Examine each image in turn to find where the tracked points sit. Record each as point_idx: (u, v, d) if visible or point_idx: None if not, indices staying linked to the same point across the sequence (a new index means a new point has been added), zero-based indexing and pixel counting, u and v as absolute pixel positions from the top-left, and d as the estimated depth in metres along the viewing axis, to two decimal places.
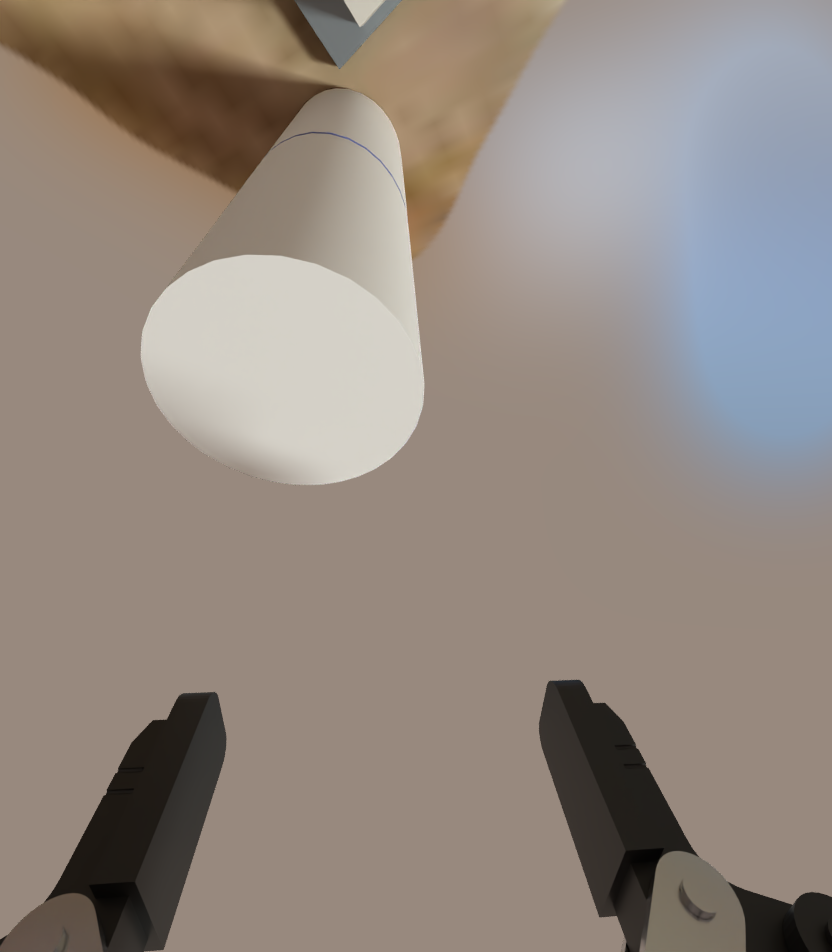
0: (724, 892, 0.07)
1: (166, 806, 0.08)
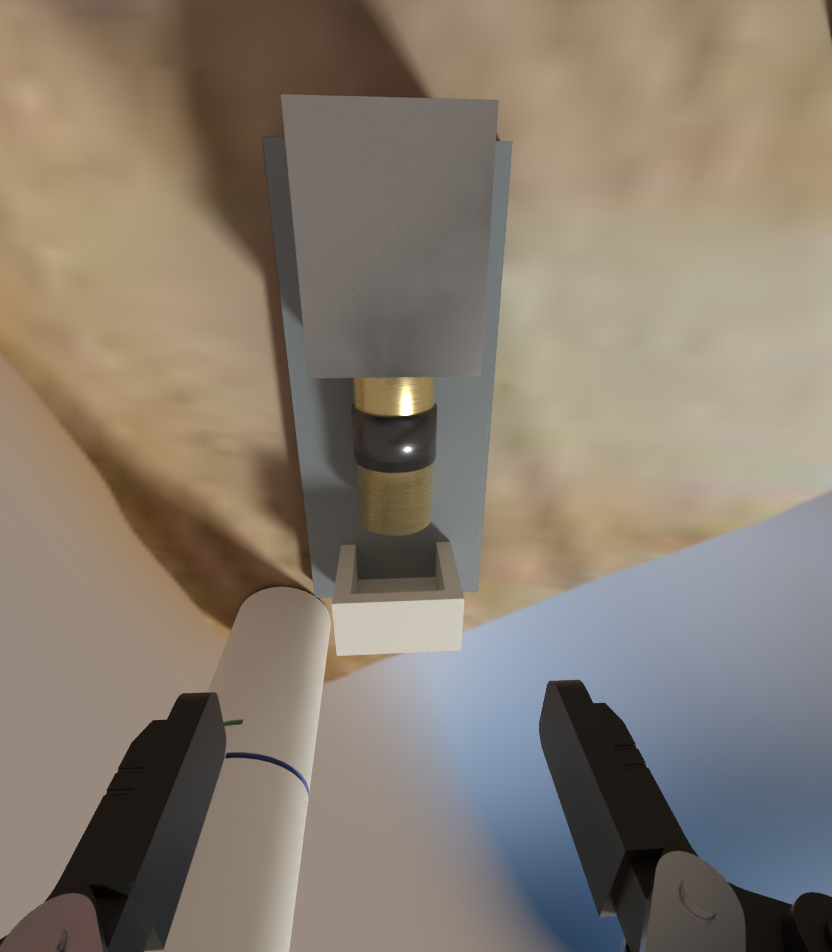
0: (724, 892, 0.07)
1: (166, 806, 0.08)
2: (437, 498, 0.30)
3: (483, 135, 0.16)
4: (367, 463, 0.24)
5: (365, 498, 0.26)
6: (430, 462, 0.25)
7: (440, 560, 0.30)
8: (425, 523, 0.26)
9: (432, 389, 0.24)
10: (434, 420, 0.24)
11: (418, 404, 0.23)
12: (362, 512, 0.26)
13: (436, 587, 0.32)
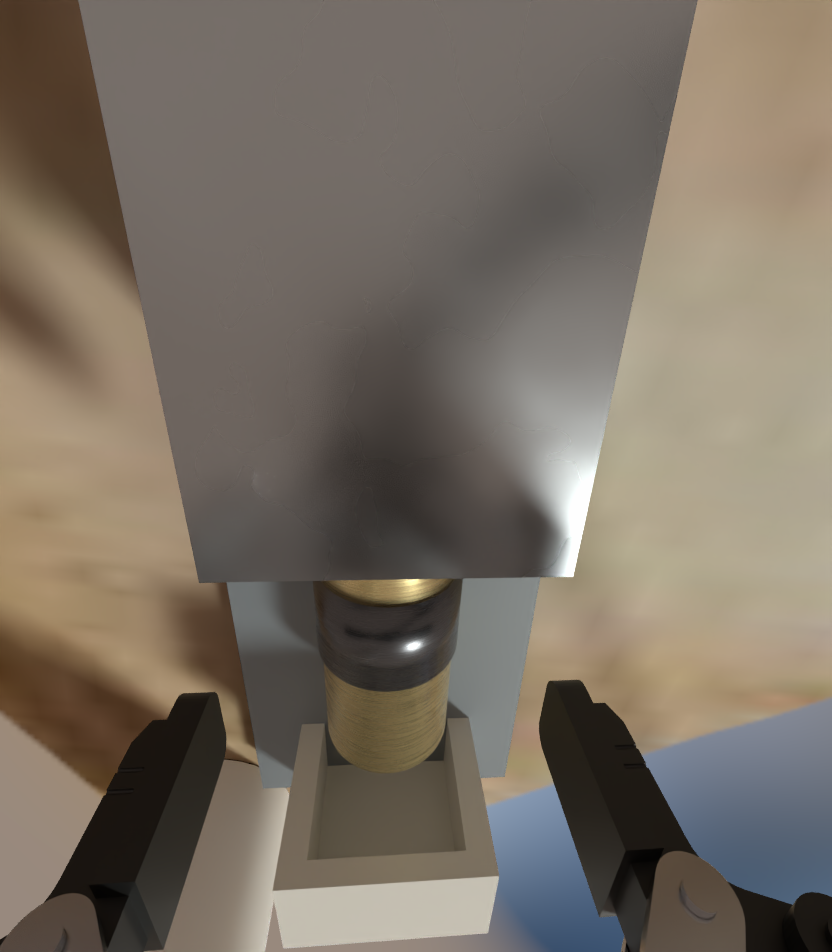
0: (724, 892, 0.07)
1: (166, 806, 0.08)
2: (452, 663, 0.19)
3: (657, 20, 0.06)
4: (337, 669, 0.13)
5: (335, 711, 0.15)
6: (449, 659, 0.14)
7: (455, 765, 0.19)
8: (436, 742, 0.16)
9: None
10: (459, 593, 0.14)
11: (433, 580, 0.12)
12: (330, 722, 0.16)
13: (446, 787, 0.21)
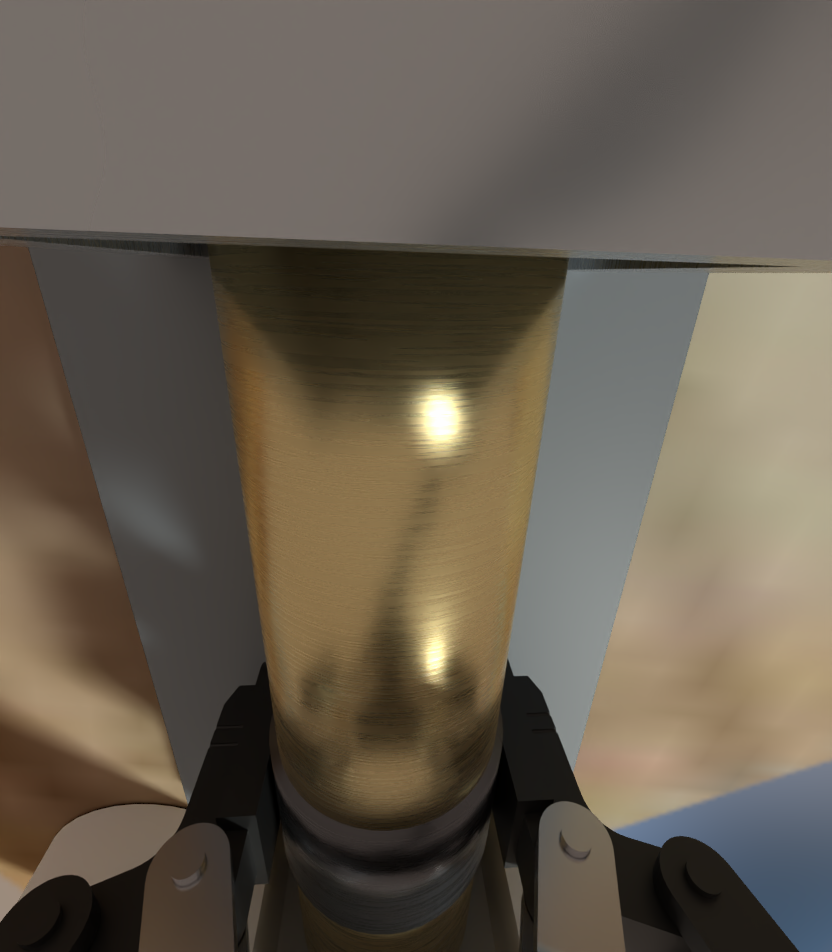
0: (600, 836, 0.08)
1: None
2: None
3: None
4: (309, 892, 0.09)
5: (309, 925, 0.10)
6: (480, 859, 0.09)
7: None
8: None
9: (499, 708, 0.08)
10: (497, 770, 0.09)
11: (462, 780, 0.08)
12: (304, 926, 0.11)
13: None
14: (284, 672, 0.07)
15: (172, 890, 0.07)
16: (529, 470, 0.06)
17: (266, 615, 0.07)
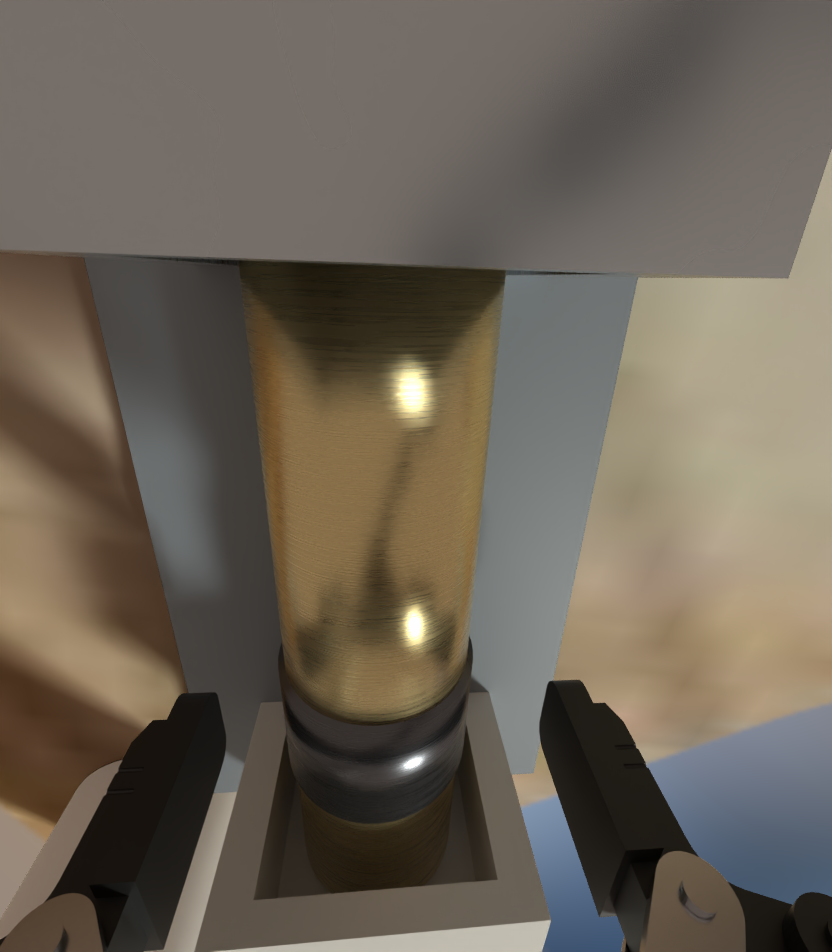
0: (724, 892, 0.07)
1: (166, 806, 0.08)
2: None
3: None
4: (311, 792, 0.10)
5: (311, 832, 0.12)
6: (455, 770, 0.11)
7: (473, 754, 0.13)
8: (438, 862, 0.13)
9: (467, 634, 0.10)
10: (468, 690, 0.11)
11: (435, 687, 0.09)
12: (306, 839, 0.13)
13: (458, 787, 0.15)
14: (292, 591, 0.08)
15: None
16: (480, 428, 0.08)
17: (279, 546, 0.08)
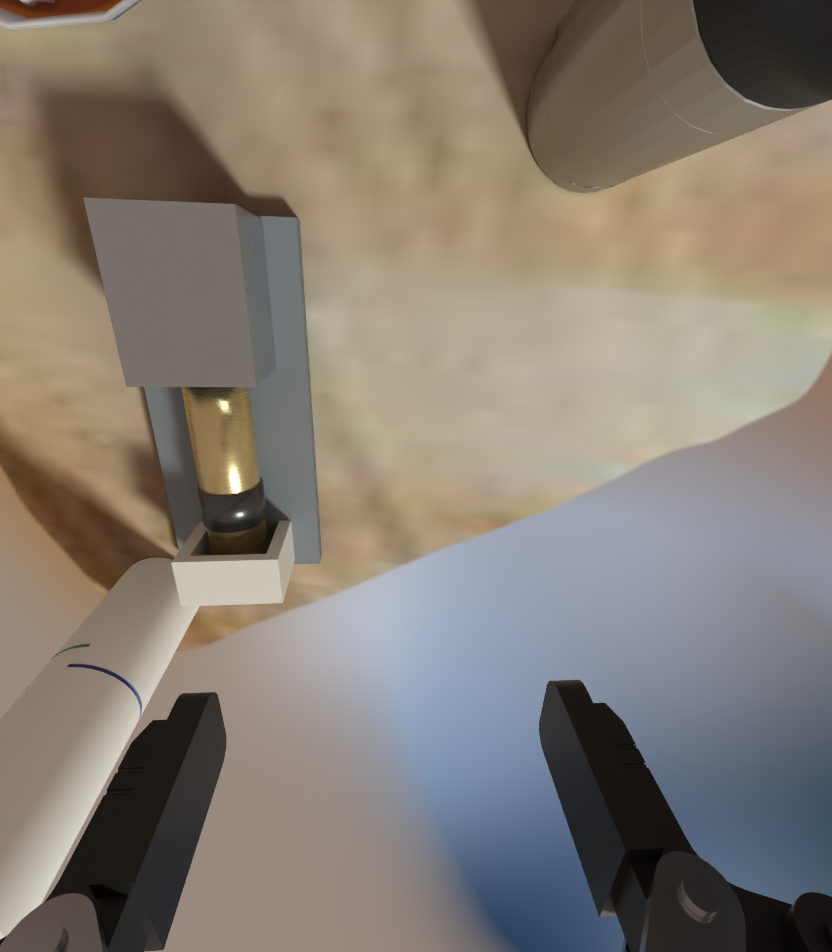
0: (724, 892, 0.07)
1: (166, 806, 0.08)
2: (275, 484, 0.38)
3: (228, 225, 0.24)
4: (207, 525, 0.34)
5: (211, 549, 0.35)
6: (256, 524, 0.35)
7: (275, 533, 0.37)
8: None
9: (252, 474, 0.34)
10: (256, 495, 0.34)
11: (239, 486, 0.33)
12: None
13: None
14: (196, 456, 0.32)
15: None
16: (239, 412, 0.31)
17: (192, 444, 0.32)
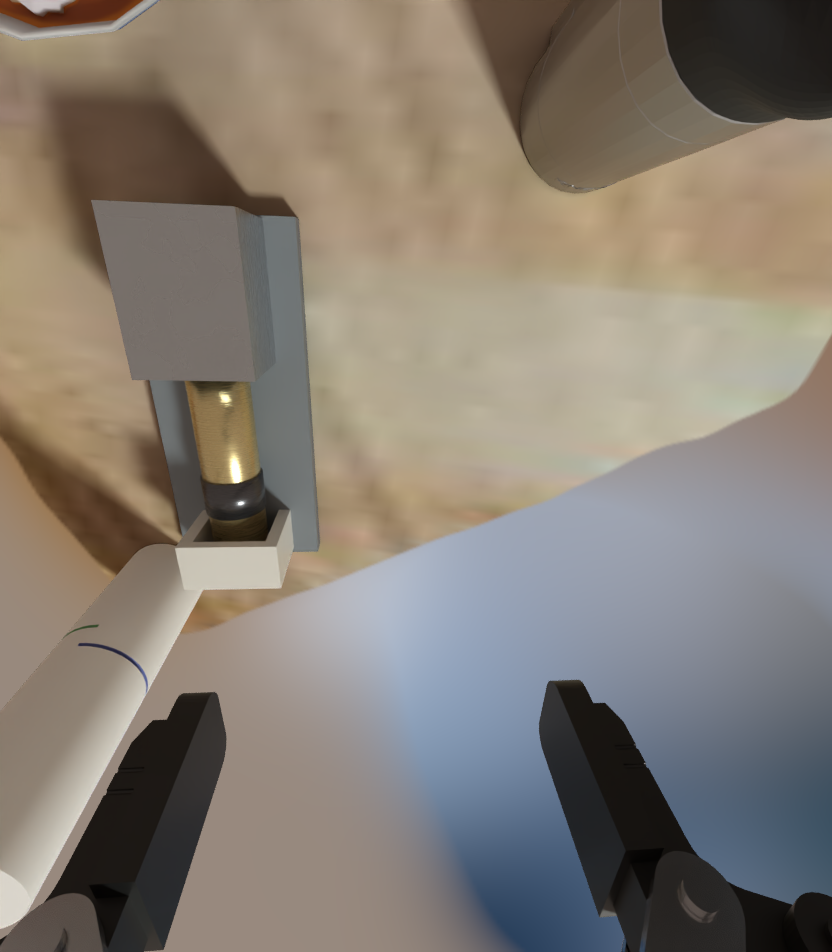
0: (724, 892, 0.07)
1: (166, 806, 0.08)
2: (275, 474, 0.39)
3: (228, 227, 0.25)
4: (209, 513, 0.35)
5: (213, 536, 0.37)
6: (256, 512, 0.36)
7: (274, 522, 0.38)
8: None
9: (252, 465, 0.35)
10: (256, 485, 0.36)
11: (240, 476, 0.34)
12: None
13: None
14: (198, 446, 0.33)
15: None
16: (240, 405, 0.33)
17: (195, 435, 0.33)
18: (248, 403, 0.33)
